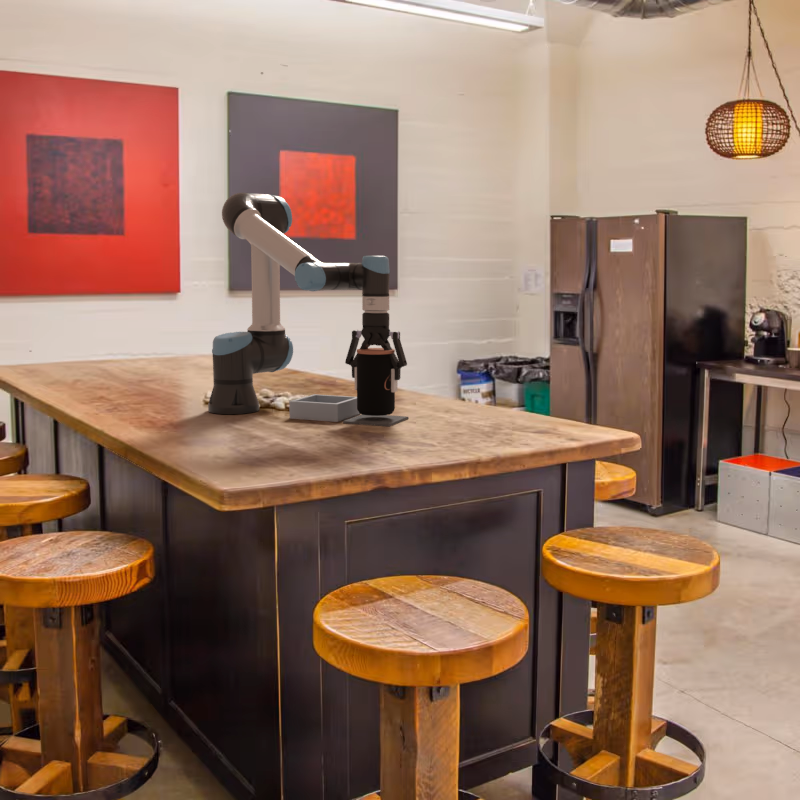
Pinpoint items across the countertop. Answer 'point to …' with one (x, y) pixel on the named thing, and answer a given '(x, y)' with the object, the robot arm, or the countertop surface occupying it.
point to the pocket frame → (323, 408)
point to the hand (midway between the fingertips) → (375, 390)
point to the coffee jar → (374, 382)
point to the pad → (376, 420)
